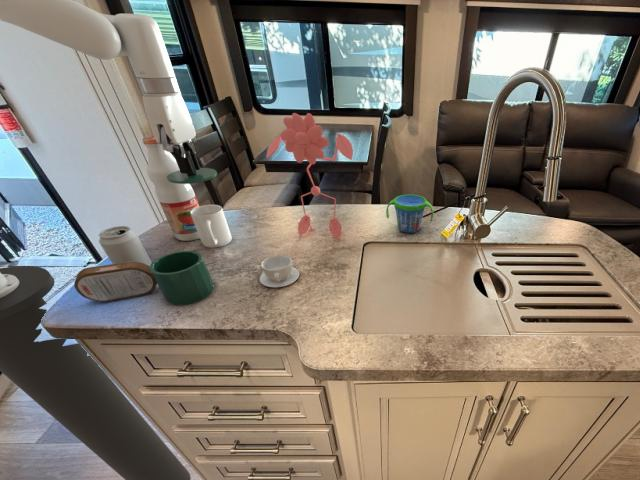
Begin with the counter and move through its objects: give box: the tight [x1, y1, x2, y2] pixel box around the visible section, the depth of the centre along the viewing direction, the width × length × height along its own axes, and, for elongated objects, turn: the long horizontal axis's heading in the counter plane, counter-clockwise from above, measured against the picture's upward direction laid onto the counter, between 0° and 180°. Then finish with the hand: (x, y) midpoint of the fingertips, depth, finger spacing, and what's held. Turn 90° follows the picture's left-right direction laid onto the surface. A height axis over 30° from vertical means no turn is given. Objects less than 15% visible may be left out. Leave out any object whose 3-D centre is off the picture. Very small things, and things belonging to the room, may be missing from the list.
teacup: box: [259, 254, 300, 288], centre depth 82 cm, size 10×10×5 cm
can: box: [98, 225, 153, 266], centre depth 80 cm, size 8×8×12 cm
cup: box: [190, 204, 233, 249], centre depth 94 cm, size 8×12×10 cm
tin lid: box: [167, 151, 218, 185], centre depth 83 cm, size 12×12×7 cm
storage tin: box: [149, 250, 215, 306], centre depth 75 cm, size 10×10×8 cm
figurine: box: [265, 112, 354, 253], centre depth 90 cm, size 15×26×35 cm, turn 80°
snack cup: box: [385, 193, 434, 234], centre depth 106 cm, size 16×10×10 cm
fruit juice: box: [141, 135, 200, 242], centre depth 93 cm, size 9×9×28 cm
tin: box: [73, 262, 158, 303], centre depth 73 cm, size 15×3×8 cm, turn 113°
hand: (190, 170), depth 83 cm, fingers closed on tin lid, 2 cm apart
